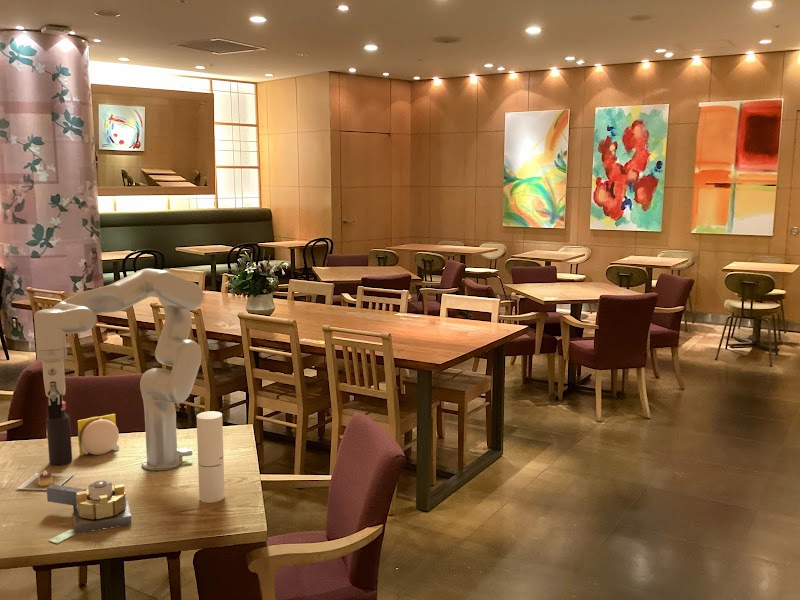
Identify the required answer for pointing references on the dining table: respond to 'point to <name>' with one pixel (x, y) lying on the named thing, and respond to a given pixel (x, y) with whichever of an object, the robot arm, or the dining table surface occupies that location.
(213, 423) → the cylindrical container
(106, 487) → the housing
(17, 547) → the dining table surface
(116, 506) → the ring nut
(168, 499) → the dining table surface
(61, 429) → the bottle
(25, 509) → the dining table surface
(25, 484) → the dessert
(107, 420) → the hamburger
